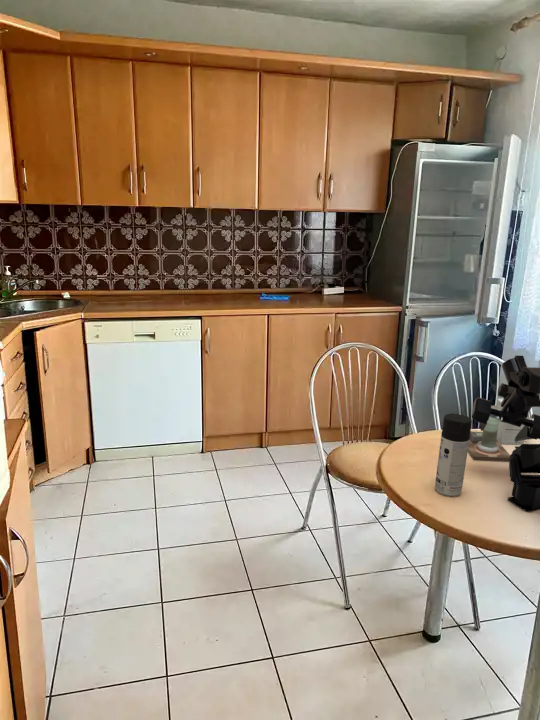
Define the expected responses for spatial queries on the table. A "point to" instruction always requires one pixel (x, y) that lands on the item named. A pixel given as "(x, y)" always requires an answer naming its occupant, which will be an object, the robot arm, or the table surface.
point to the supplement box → (507, 430)
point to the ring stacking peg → (489, 436)
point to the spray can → (453, 454)
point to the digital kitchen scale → (481, 456)
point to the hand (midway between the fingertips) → (498, 434)
